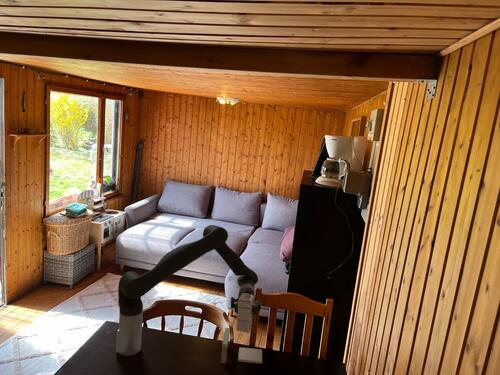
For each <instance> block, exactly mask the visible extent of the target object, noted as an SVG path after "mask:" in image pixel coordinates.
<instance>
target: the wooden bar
mask: <svg viewBox="0 0 500 375" xmlns="http://www.w3.org/2000/svg"><path fill="white" fill-rule="evenodd" d="M224 328H225V329H224V333H223V337H222V338H223V339H222V344H221V345H222V346H221V348H222V347H226V348H227V344H228V338H229V339H230V333H229V332H231V331H230V330H231V328H230V327H224ZM228 345H229V344H228ZM227 349H228V348H227Z"/></svg>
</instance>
